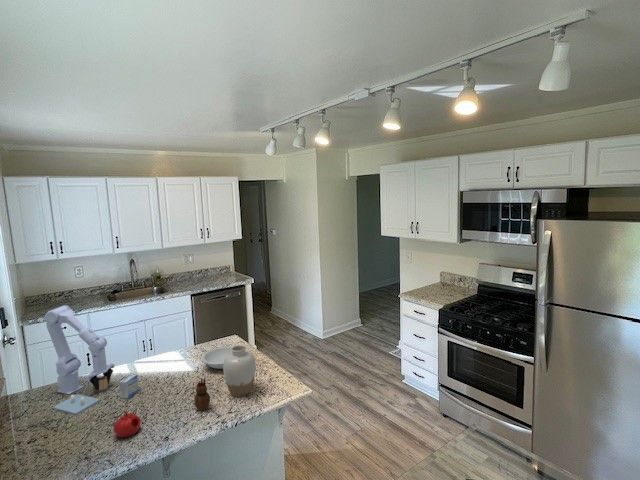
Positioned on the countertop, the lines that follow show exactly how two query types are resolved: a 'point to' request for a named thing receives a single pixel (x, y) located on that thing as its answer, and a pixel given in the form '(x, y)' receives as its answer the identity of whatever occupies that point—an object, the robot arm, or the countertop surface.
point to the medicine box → (129, 386)
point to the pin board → (76, 404)
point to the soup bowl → (216, 356)
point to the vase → (239, 371)
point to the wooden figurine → (201, 396)
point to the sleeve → (103, 384)
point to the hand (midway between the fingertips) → (102, 386)
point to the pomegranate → (127, 425)
